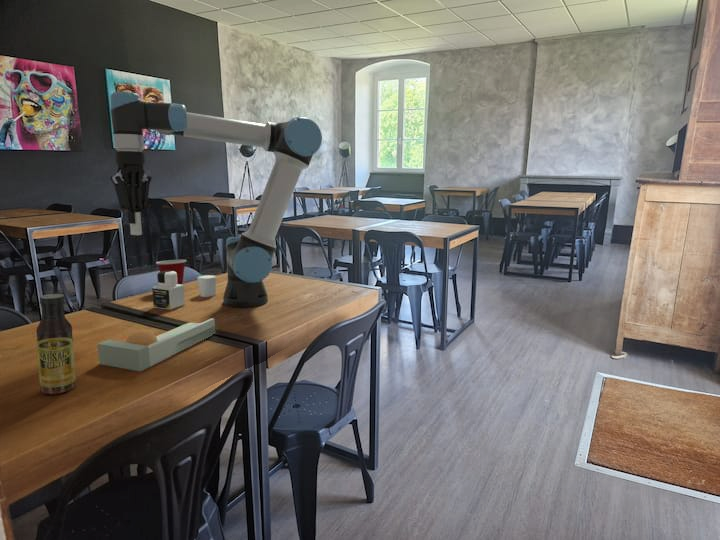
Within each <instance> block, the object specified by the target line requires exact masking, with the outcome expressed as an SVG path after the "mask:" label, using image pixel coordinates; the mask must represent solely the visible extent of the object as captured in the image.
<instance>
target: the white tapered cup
mask: <svg viewBox="0 0 720 540" xmlns="http://www.w3.org/2000/svg"><path fill="white" fill-rule="evenodd" d="M217 278H218V277H217V275H213V274H205V275H204V274H203V275H199V276H197V277H196V280H197V286H198V292H199V297H202V298H209V297H210V296H211V297H215V296H216V295H217ZM214 295H215V296H214Z"/></svg>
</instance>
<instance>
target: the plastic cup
mask: <svg viewBox="0 0 720 540" xmlns="http://www.w3.org/2000/svg"><path fill="white" fill-rule="evenodd" d="M186 262H187V259H168V260H160V261H156V262H155V264H156V265H157V267H158V270H159V272H161V271H175V272H176V273H177V284H181V285H184V284H183V282H184V275H185V268H186V267H185V266H186Z"/></svg>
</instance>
